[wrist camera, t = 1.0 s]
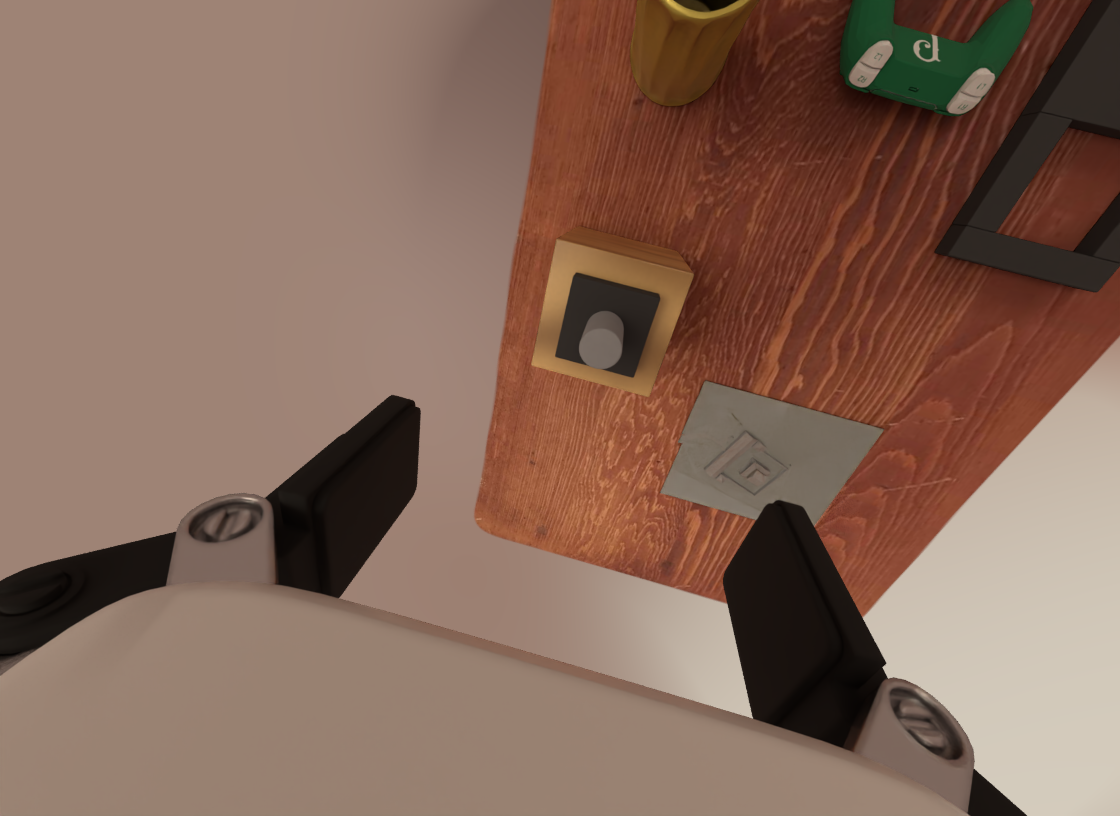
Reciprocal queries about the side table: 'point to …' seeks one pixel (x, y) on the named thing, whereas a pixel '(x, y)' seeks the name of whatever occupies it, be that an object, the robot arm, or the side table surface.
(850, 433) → the grey flat square slab
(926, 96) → the gaming controller
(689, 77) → the vase
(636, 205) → the side table surface
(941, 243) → the base pad
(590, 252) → the stand
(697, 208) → the side table surface
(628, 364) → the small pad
